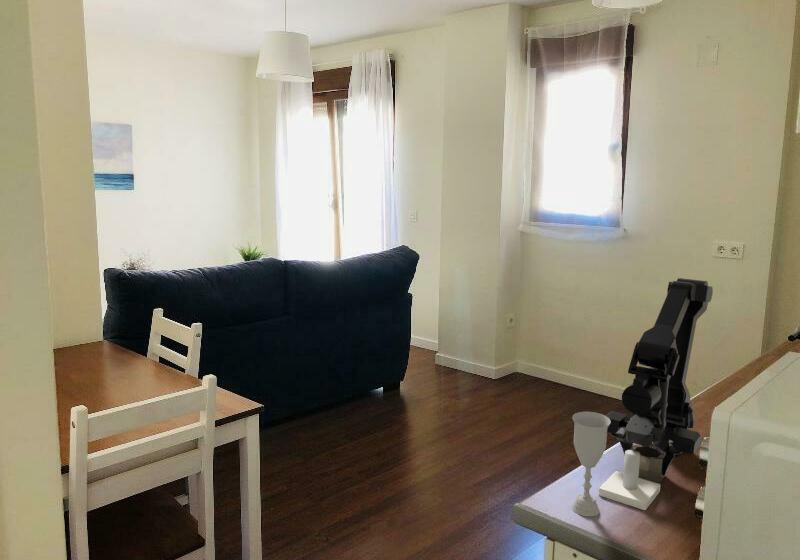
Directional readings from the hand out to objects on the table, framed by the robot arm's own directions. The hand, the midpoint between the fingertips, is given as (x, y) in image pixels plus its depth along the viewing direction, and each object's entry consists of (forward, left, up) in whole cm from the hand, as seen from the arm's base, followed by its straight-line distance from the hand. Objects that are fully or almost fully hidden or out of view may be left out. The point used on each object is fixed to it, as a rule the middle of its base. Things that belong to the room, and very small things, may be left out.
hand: (646, 469), depth 135 cm
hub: (0, 0, -1) cm, 1 cm away
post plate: (+10, 0, -1) cm, 10 cm away
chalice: (+21, -4, -1) cm, 22 cm away
